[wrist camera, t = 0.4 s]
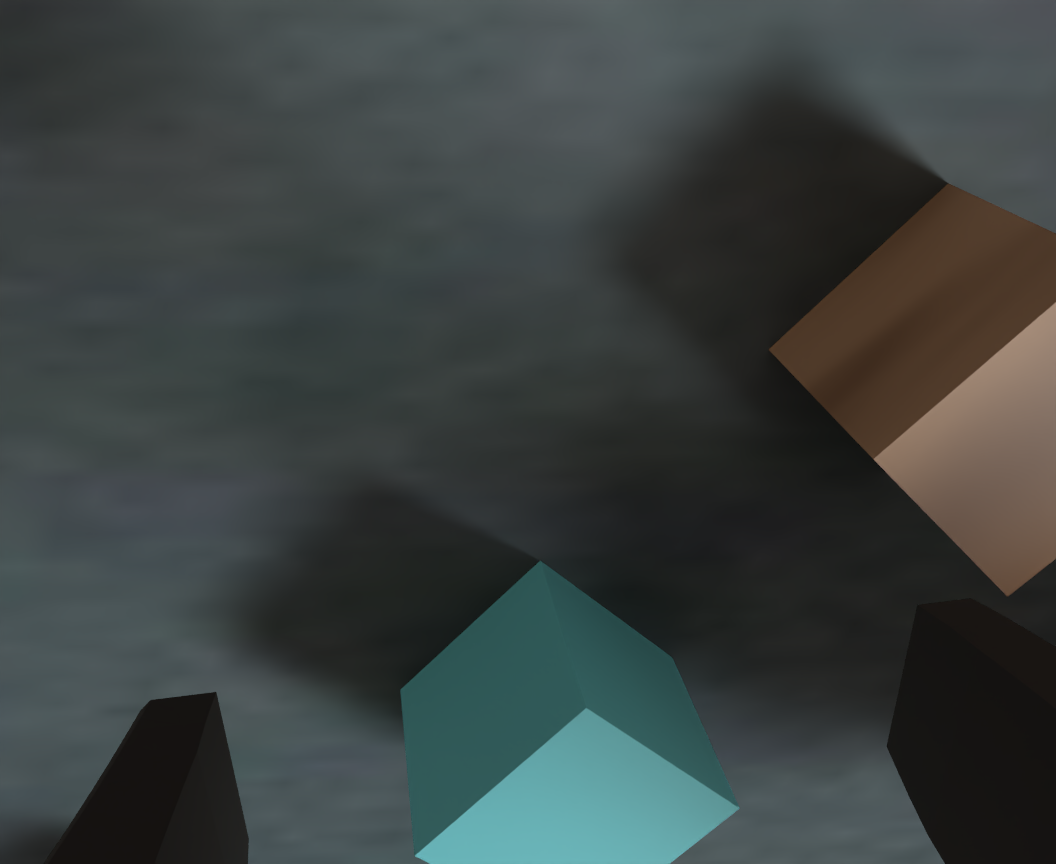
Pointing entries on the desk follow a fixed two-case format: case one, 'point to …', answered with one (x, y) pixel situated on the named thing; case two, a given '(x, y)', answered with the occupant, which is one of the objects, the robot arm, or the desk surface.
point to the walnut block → (950, 375)
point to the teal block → (556, 740)
